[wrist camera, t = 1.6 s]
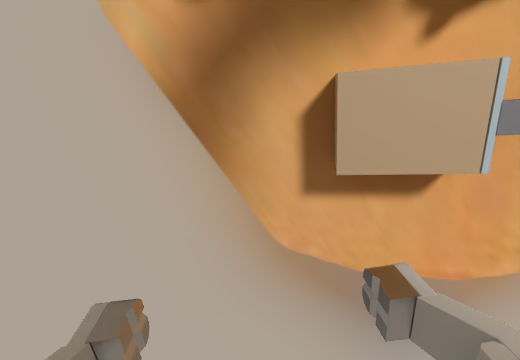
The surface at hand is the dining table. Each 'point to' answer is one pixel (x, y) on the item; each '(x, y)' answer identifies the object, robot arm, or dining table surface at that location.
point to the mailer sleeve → (413, 118)
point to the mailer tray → (500, 115)
